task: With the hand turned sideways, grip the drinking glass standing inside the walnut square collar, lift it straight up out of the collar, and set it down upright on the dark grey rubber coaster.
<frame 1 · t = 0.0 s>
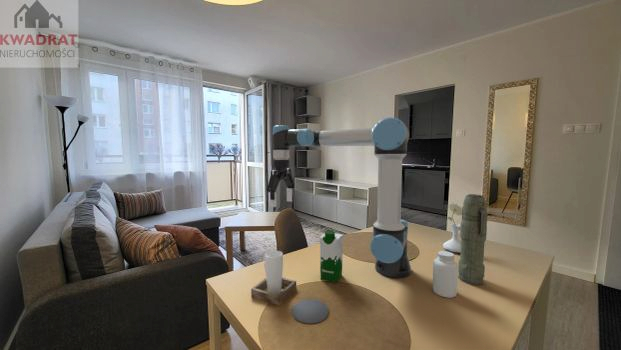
hand: (281, 204, 118), 28 cm above the table, tool pointing down, fingers open, 13 cm apart
rubber coaster: (310, 311, 82), on the table
flower in vase: (453, 250, 133), on the table
milk carton: (331, 277, 104), on the table
drinking glass: (274, 293, 93), resting in walnut collar
thermos: (470, 280, 102), on the table
walnut collar: (274, 292, 93), on the table
pill bottle: (444, 292, 93), on the table
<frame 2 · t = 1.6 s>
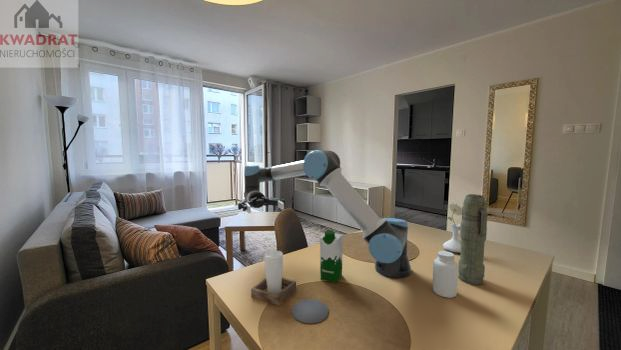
hand: (266, 208, 99), 30 cm above the table, tool horizontal, fingers open, 13 cm apart
nothing on the table moved.
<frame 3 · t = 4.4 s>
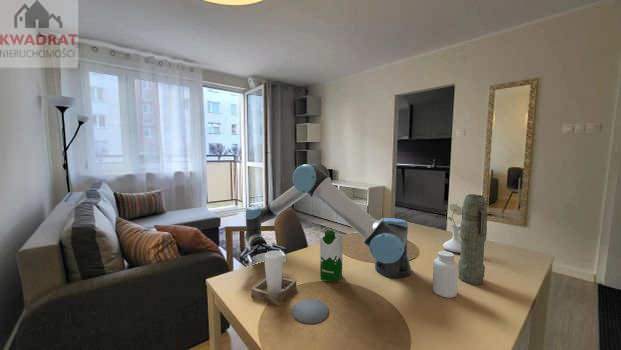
hand: (268, 262, 99), 9 cm above the table, tool horizontal, fingers open, 13 cm apart
nothing on the table moved.
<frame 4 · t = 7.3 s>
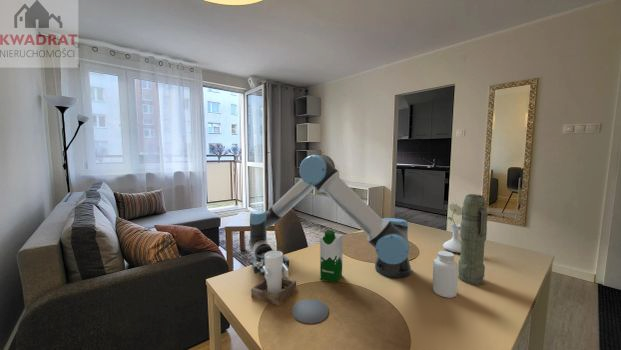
hand: (277, 275, 88), 9 cm above the table, tool horizontal, fingers closed on drinking glass, 6 cm apart
drinking glass: (274, 293, 93), resting in walnut collar, touching gripper
everything else where it was.
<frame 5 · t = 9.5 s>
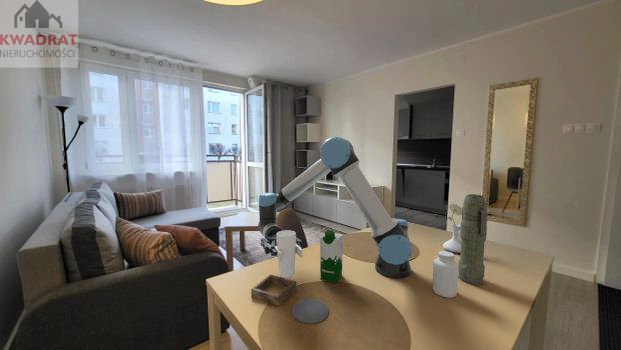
hand: (291, 255, 81), 19 cm above the table, tool horizontal, fingers closed on drinking glass, 6 cm apart
drinking glass: (287, 275, 87), point 9 cm above the table, touching gripper
everything else where it was.
when the fingers open (10 cm above the table, at t = 12.1 s): drinking glass moves 2 cm, resting on rubber coaster.
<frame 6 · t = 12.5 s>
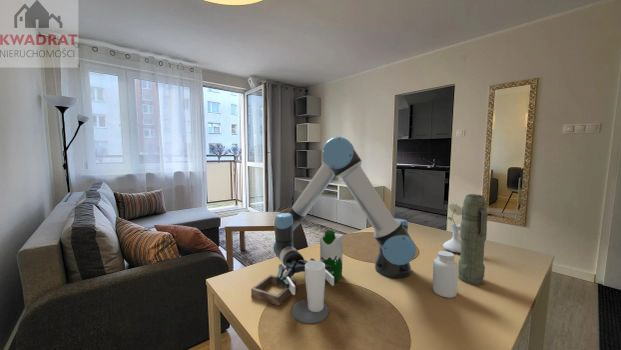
hand: (314, 285, 78), 10 cm above the table, tool horizontal, fingers open, 13 cm apart
drinking glass: (315, 308, 83), resting on rubber coaster
everything else where it was.
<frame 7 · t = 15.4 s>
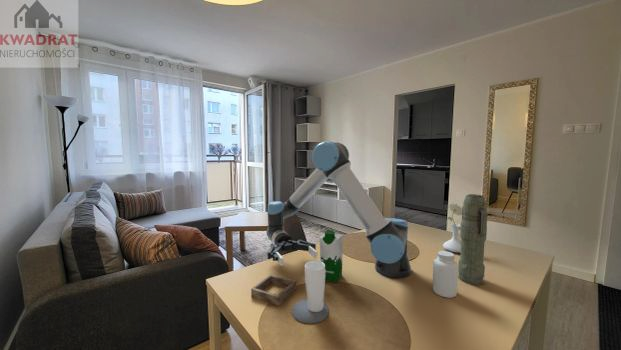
hand: (299, 258, 92), 13 cm above the table, tool horizontal, fingers open, 13 cm apart
nothing on the table moved.
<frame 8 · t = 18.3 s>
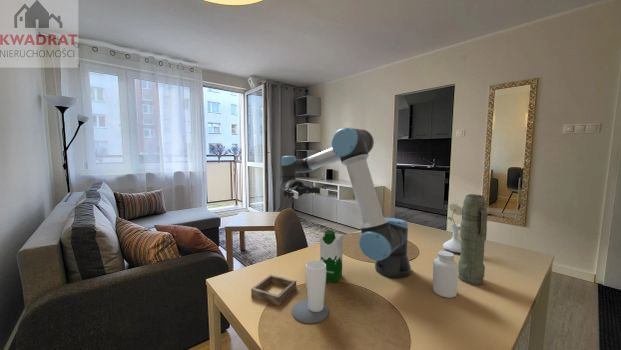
hand: (312, 194, 102), 35 cm above the table, tool horizontal, fingers open, 13 cm apart
nothing on the table moved.
at the end: drinking glass inside the target area on the rubber coaster (2.1 cm from its centre), point 0.3 cm above the rubber coaster's base; drinking glass tilted 1°; the gripper is holding nothing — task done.
